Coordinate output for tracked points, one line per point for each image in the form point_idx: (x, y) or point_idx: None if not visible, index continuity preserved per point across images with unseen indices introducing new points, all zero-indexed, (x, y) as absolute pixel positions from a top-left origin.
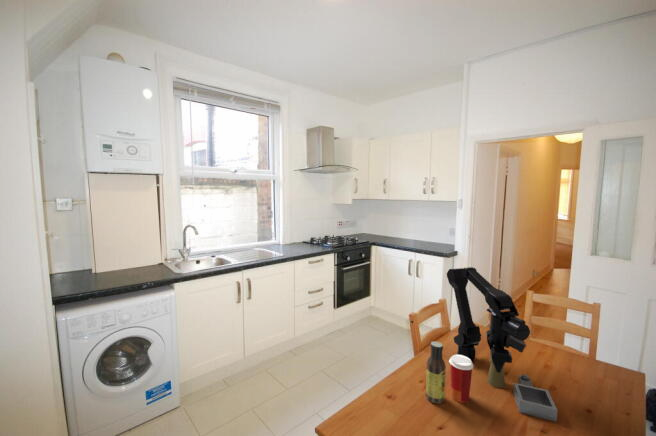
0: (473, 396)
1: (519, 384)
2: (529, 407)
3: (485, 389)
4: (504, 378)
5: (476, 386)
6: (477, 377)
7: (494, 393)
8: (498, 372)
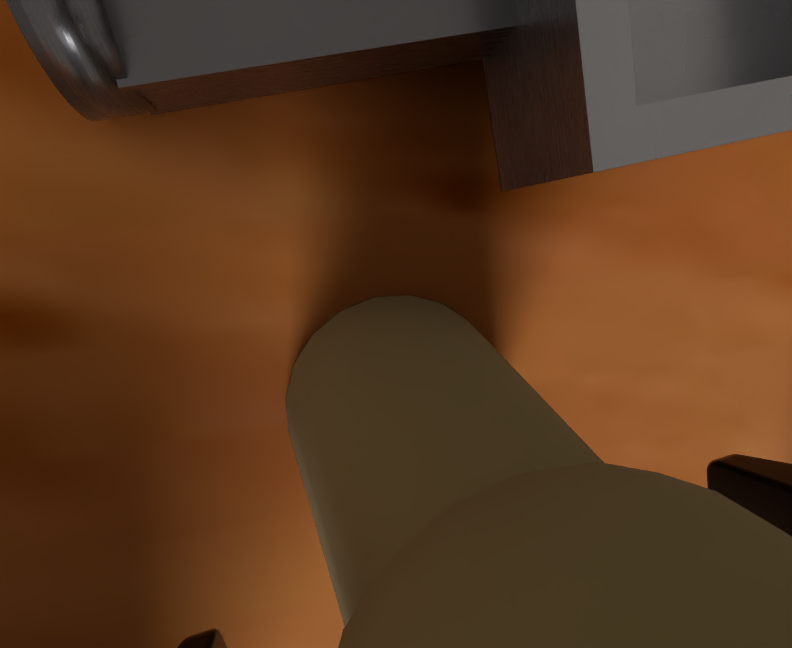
0: None
1: (600, 76)
2: None
3: None
4: (415, 329)
5: None
6: None
7: (619, 381)
8: (728, 481)
